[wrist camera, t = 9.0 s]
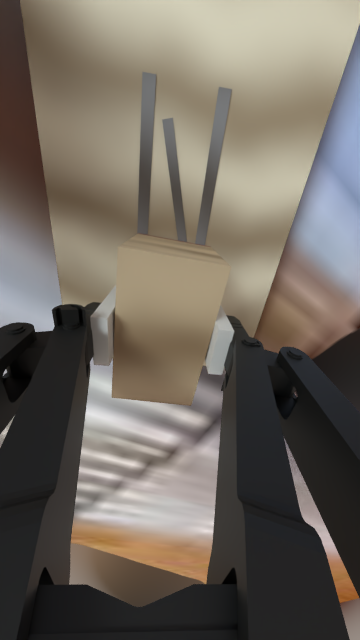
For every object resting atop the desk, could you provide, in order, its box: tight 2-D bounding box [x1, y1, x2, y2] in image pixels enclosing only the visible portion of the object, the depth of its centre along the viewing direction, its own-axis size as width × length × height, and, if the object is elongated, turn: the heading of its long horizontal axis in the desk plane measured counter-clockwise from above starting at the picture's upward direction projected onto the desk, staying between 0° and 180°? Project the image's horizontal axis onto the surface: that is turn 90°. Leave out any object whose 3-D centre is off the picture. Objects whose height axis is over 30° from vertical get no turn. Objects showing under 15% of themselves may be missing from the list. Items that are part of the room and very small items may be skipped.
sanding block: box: [112, 233, 231, 406], centre depth 14 cm, size 9×5×6 cm, turn 170°
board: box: [20, 0, 360, 368], centre depth 15 cm, size 24×16×2 cm, turn 173°
